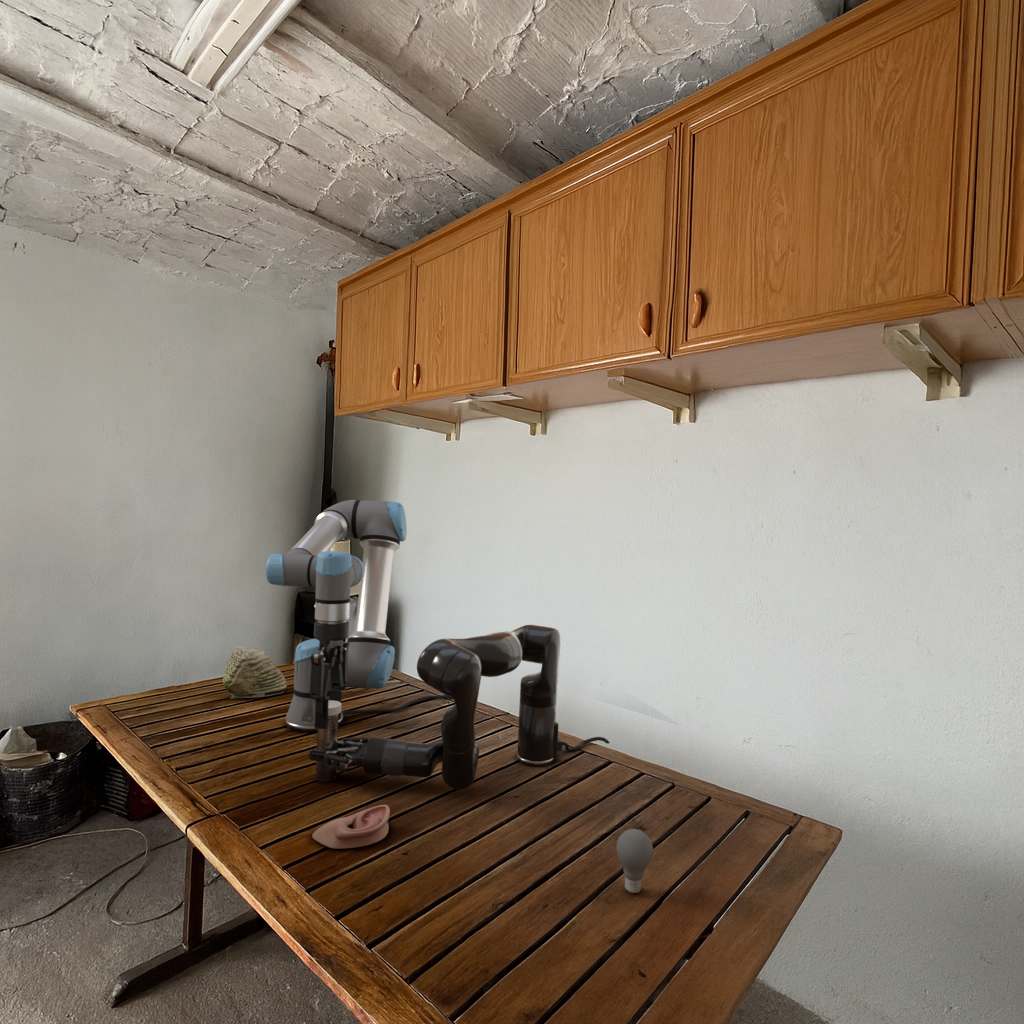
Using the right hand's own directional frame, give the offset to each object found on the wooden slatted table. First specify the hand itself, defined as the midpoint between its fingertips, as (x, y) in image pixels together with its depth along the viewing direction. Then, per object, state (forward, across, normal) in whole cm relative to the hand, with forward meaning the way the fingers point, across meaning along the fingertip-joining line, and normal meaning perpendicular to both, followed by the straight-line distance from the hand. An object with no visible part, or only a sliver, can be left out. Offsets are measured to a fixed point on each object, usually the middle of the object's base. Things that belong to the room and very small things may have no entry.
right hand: (315, 750), depth 143 cm
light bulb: (-69, +30, +6) cm, 75 cm away
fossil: (+42, -51, +6) cm, 66 cm away
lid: (-3, 0, -10) cm, 11 cm away
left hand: (-3, 0, -6) cm, 7 cm away
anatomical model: (-17, +22, +6) cm, 28 cm away
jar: (-3, 0, +6) cm, 7 cm away
